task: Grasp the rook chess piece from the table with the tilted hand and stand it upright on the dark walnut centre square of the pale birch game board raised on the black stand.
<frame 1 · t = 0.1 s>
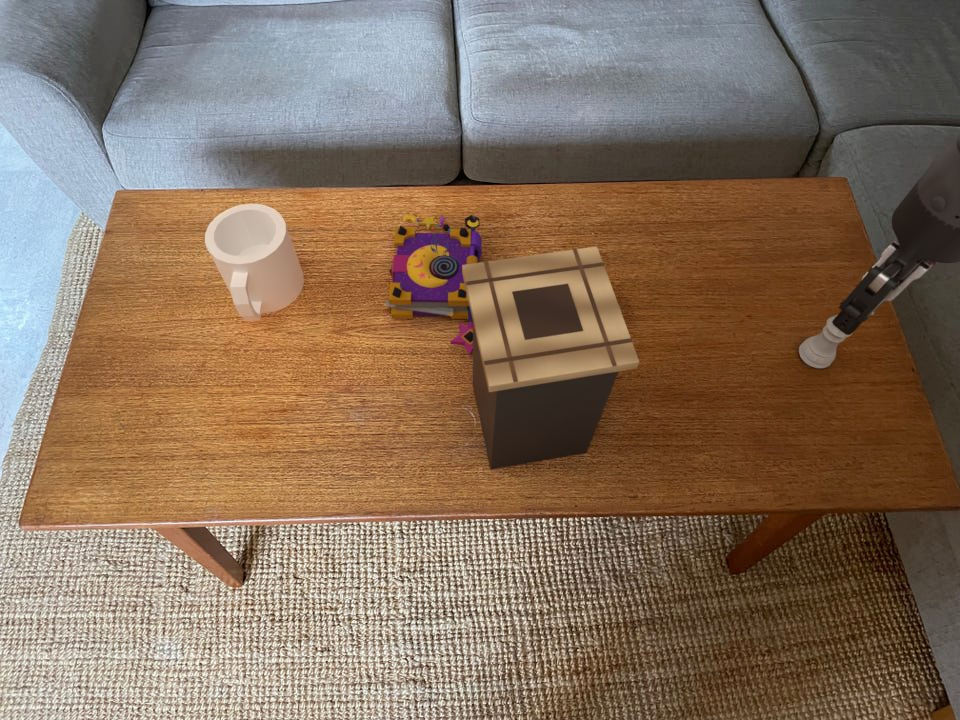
hand: (865, 307, 69), 18 cm above the table, tool pointing down, fingers open, 8 cm apart
stone: (573, 311, 91), on the table
book: (438, 289, 92), on the table
board stand: (527, 417, 82), on the table
game board: (545, 318, 63), resting on board stand
mug: (265, 291, 91), on the table
rook chess piece: (813, 356, 87), on the table
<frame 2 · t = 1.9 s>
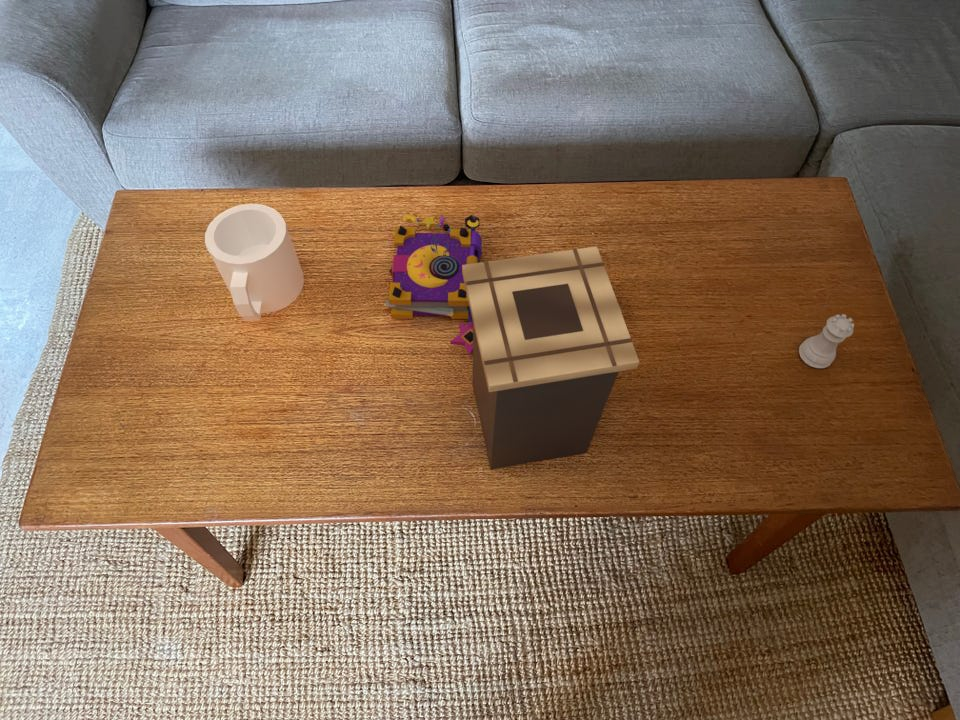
nothing on the table moved.
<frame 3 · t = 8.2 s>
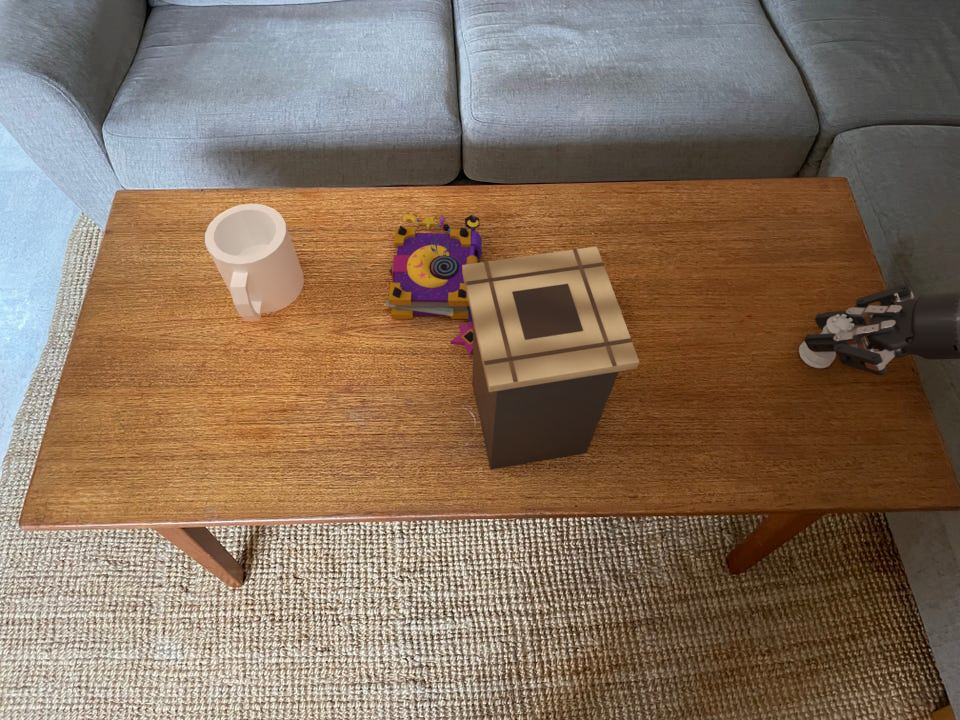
hand: (813, 332, 84), 4 cm above the table, tool tilted 45°, fingers closed on rook chess piece, 3 cm apart
rook chess piece: (813, 356, 87), on the table, touching gripper
everything else where it was.
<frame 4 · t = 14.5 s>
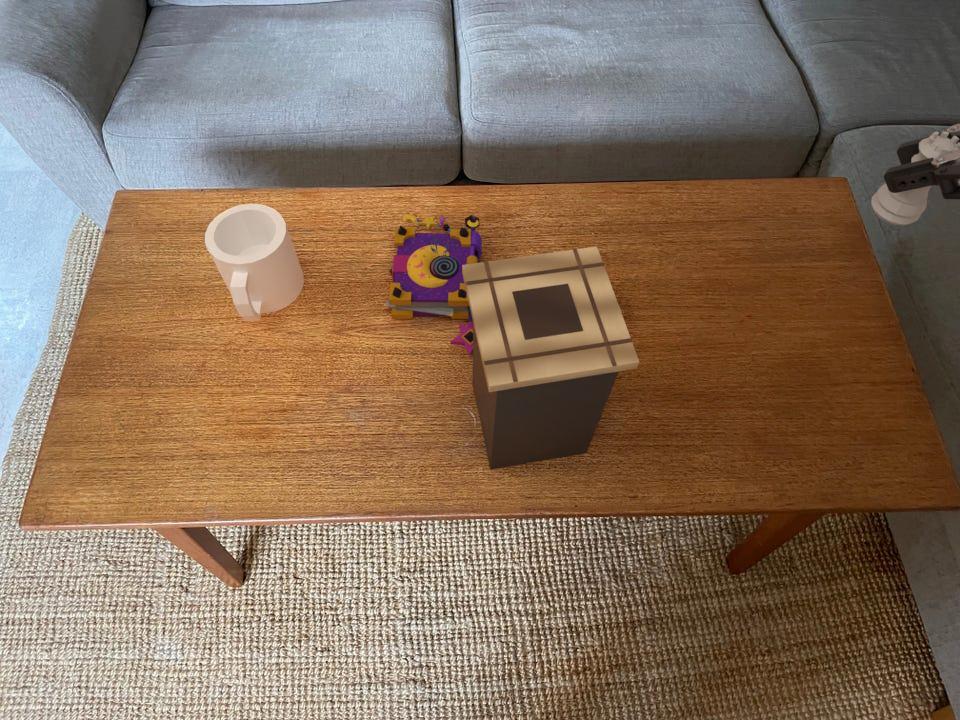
hand: (895, 169, 58), 33 cm above the table, tool tilted 45°, fingers closed on rook chess piece, 3 cm apart
rook chess piece: (891, 211, 61), point 29 cm above the table, touching gripper
everything else where it was.
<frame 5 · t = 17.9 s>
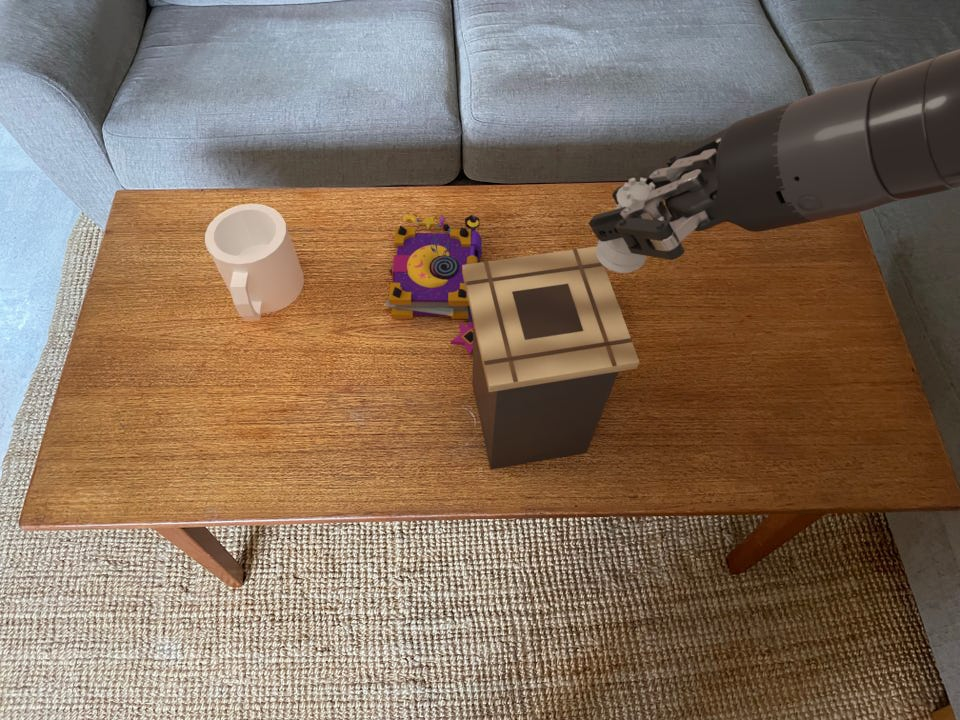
hand: (608, 215, 54), 34 cm above the table, tool tilted 45°, fingers closed on rook chess piece, 3 cm apart
rook chess piece: (619, 258, 57), point 29 cm above the table, touching gripper
everything else where it was.
when the fingers open (27 cm above the table, at t = 20.8 s): rook chess piece stays where it is, resting on game board.
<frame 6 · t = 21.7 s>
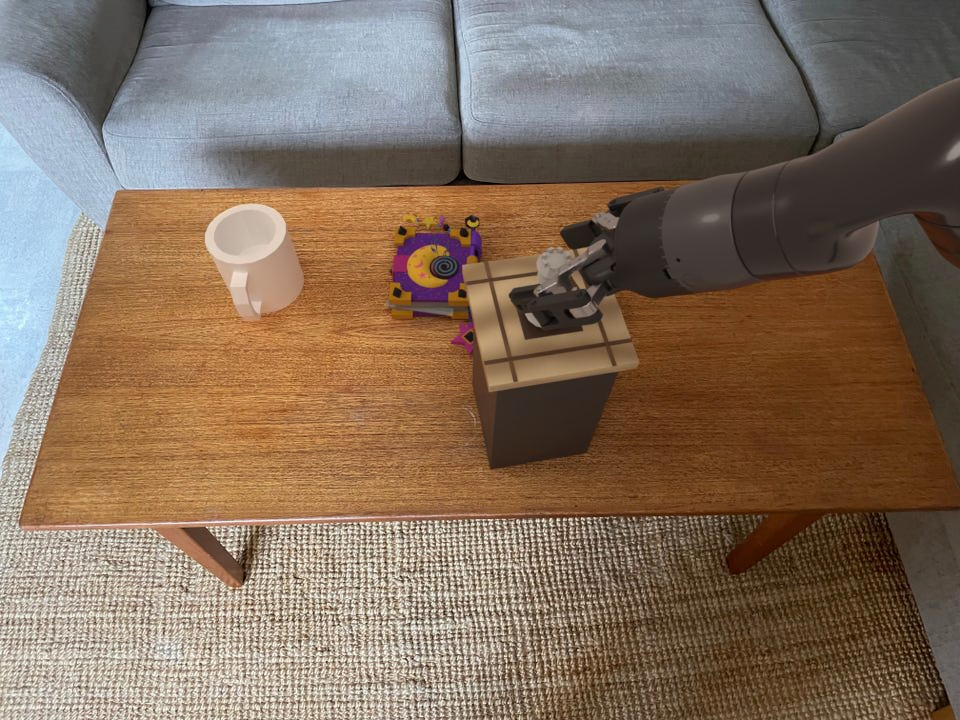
hand: (541, 268, 57), 29 cm above the table, tool tilted 45°, fingers open, 8 cm apart
rook chess piece: (546, 313, 62), point 23 cm above the table, touching game board
everything else where it was.
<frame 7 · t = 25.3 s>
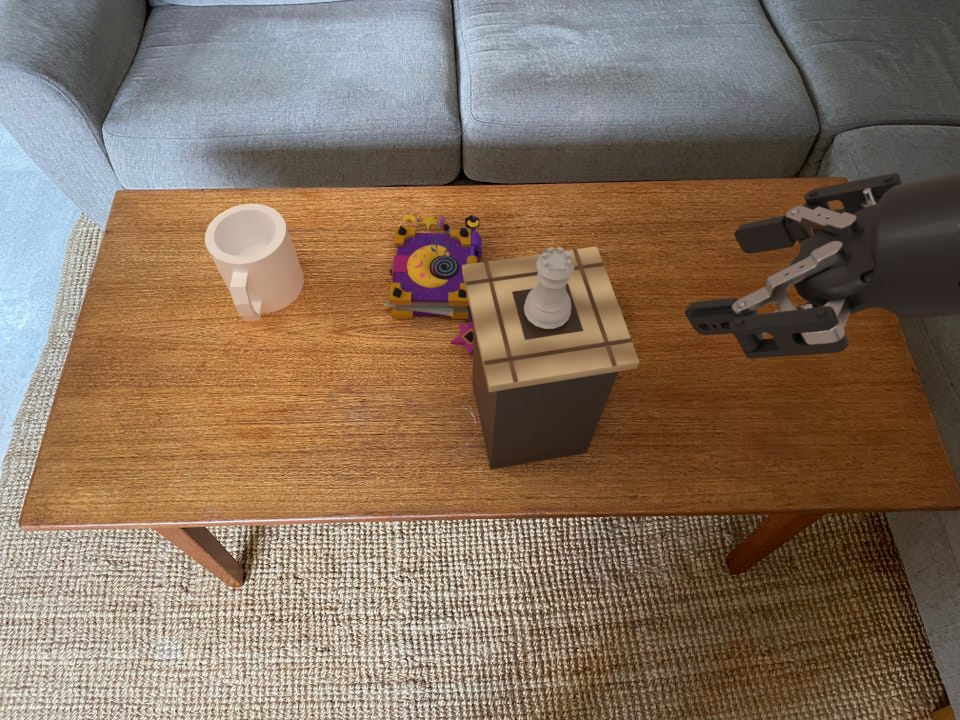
hand: (716, 277, 46), 37 cm above the table, tool tilted 45°, fingers open, 8 cm apart
nothing on the table moved.
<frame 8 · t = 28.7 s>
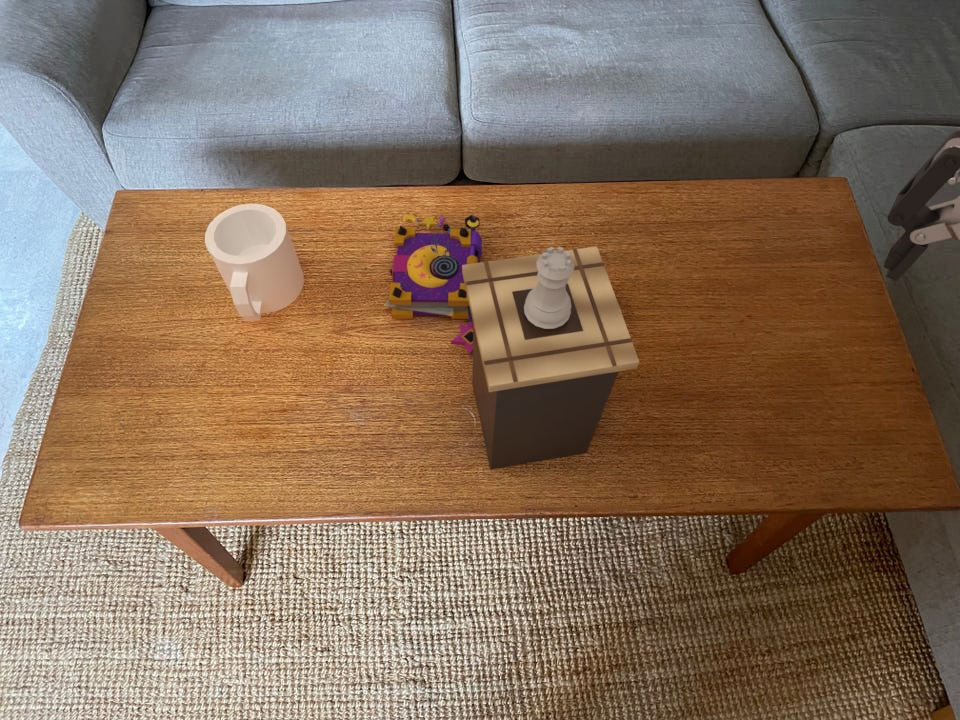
hand: (956, 299, 45), 38 cm above the table, tool pointing down, fingers open, 8 cm apart
nothing on the table moved.
at the end: rook chess piece 0.2 cm off-centre on the game board, point 1.1 cm above the game board's base; rook chess piece tilted 0°; the gripper is holding nothing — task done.
